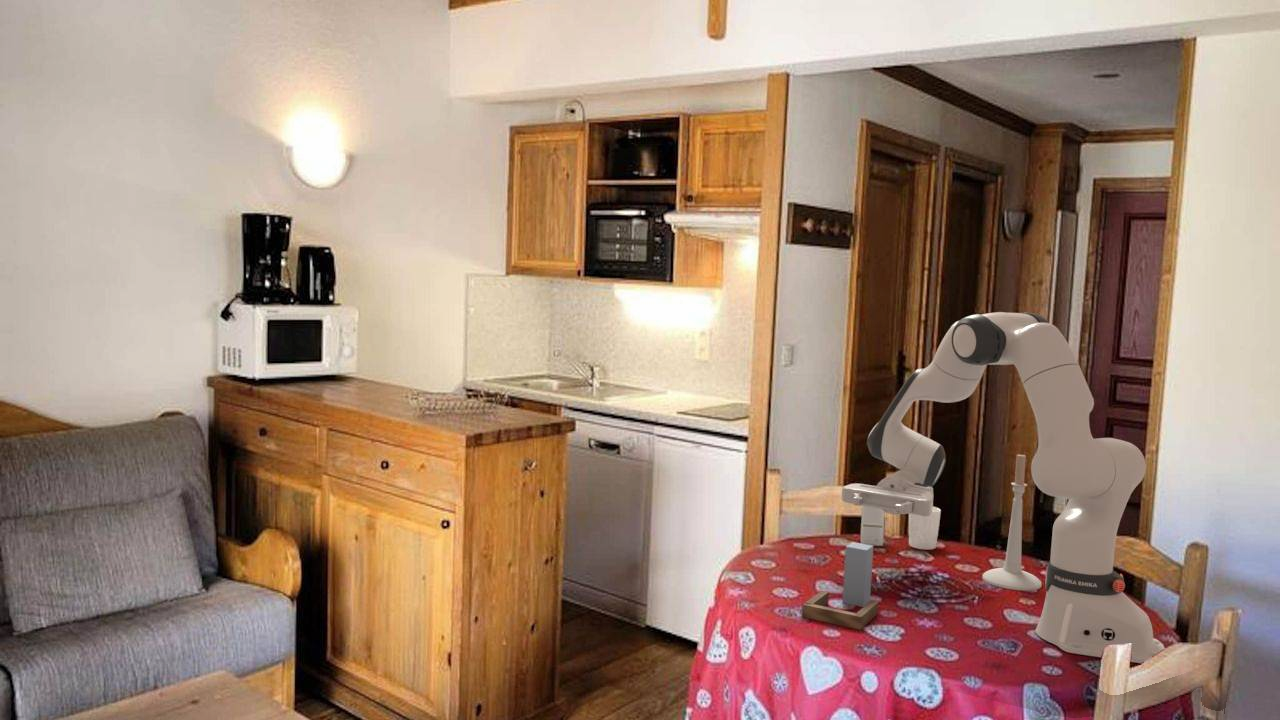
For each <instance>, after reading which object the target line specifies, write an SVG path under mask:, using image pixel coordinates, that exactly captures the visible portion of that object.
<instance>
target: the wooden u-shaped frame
mask: <svg viewBox="0 0 1280 720" xmlns="http://www.w3.org/2000/svg"><path fill="white" fill-rule="evenodd" d="M829 594H830V591H826V590H823V589H822V590H820V591H819V592H818V593H816V594H815V595H813V596H812V597H811V598H809V599H808V600H807V601H805V602H804V603H803V604H802V608H801V609H802V610H801V611H802V612H801V613H802V614H801V618H804V619H805V618H806V619H811V620H815V621H820V622H824V623H827V624H828V623H829V624H833V625H837V626H842V627H847V628H852V629H856V630H859V631H860V630H862V629H864V627H865V626H866V625H867V624H868V623H870V621H872V620H873V619H874V618H875V617H876V616H877V615H878V614H879V612H878V611H879V601H876V600H871V599H870V602H868V603H867V604H866V605H865V606H864V607H862V608H861V609H860V610H858V611H857V612H852V611H847V610H842V609H837V608H833V607H828V606H827V605H828V604H829Z"/></svg>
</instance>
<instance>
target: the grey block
mask: <svg viewBox="0 0 1280 720" xmlns="http://www.w3.org/2000/svg"><path fill="white" fill-rule="evenodd" d="M873 554H874V545H867V544H861V542H860V543H859V542H854V541H852V542H850V543H849V544H847V545H846V546H845V554H844V556H845V557H844V570H843V571H844V572H843V584H842V585H843V588H842V589H843V590H842V604H848V605H852V606H856V607H862V608H863V607H864V606H865V605H866V604H868V603H869V602H870V601H871V591H872V589H871V588H872V575H873V573H872V572H873V560H874V557H873V556H874V555H873Z"/></svg>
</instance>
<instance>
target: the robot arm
mask: <svg viewBox="0 0 1280 720" xmlns="http://www.w3.org/2000/svg"><path fill="white" fill-rule="evenodd" d="M988 365H989V366H990V365H993V366H997V365H1000V366H1007V365H1014V367H1015V368H1016V370H1017V372H1018V375H1019V377H1020V380H1021V383H1022V386H1023V388H1024V391H1025V393H1026V396H1027V399H1028V401H1029V404H1030V407H1031V409H1032V411H1033V414H1034V418H1035V422H1036V426H1037V427H1036V428H1037V436H1038V437H1037V438H1038V444H1037V449H1036V452H1035V454H1034V456H1033V458H1032V460H1031V465H1030V467H1031V468H1030V471H1031V472H1030V473H1031V477H1032V480H1033V483H1034V484H1035V486H1036V487H1037V489H1039V490H1040V491H1041V492H1042V493H1043V494H1046V495H1047V496H1050V497H1054V498H1060V499H1065V500H1068V501H1067V503H1066V506H1065V507H1064V509H1063V510H1062V512H1061V513H1060V514H1059V515H1058V517H1057V518H1056V519H1055V521H1054V523H1053V526H1052V536H1051V547H1050V560H1049V561H1048V563H1047V567H1046V571H1045V582H1044V583H1045V585H1044V586H1045V590H1046V593H1045V599H1044V604H1043V608H1042V611H1041V615H1040V618H1039V621H1038V623H1037V625H1036V628H1035V633H1036V634H1037V636H1038V637H1039V638H1041V639H1043V640H1045V642H1048V643H1051V644H1053V645H1055V646H1057V647H1058V648H1059V649H1061V650H1062V651H1064V652H1066V653H1070V654H1077V655H1082V656H1088V657H1097V658H1102V657H1101V655H1102V651H1103V649H1104V648H1105V647H1106V646H1108V645H1111V644H1122V643H1132V659H1131V662H1130V663H1135V664H1136V663H1137V664H1142V662H1143V661H1145V660H1147V659H1149V658H1151V657H1152V656H1154V655H1155V654H1157V653H1158V652H1160V651H1161V650H1163V649H1165V648H1166V647H1165V646H1164V644H1163V643H1162V642H1161V641H1160V640H1159V639H1157V638H1154V631H1153V626H1152V622H1151V620H1150V617H1149V616H1148V614H1147V613H1146V612H1145V611H1144V610H1143V609H1142V608H1140V606H1138V605H1137V604H1136V603H1135V602H1134V601H1133V600H1131V598H1130V597H1128V596H1127V595H1126V594H1125V593H1124V592H1123V591H1125V588H1126V584H1125V578H1124V575H1123V574H1122V573H1120V574H1119V573H1118V572H1117V571H1115V570H1114V562H1115V561H1114V560H1115V551H1116V541H1117V540H1116V539H1117V534H1118V529H1119V526H1120V522H1121V519H1122V517H1123V514H1124V511H1125V509H1126V507H1127V503H1128V502H1129V500H1130V497H1131V494H1132V493H1133V492H1134V490H1135V489H1136V487H1137V486H1138V485H1139V484H1140V483H1141V482H1142V481H1143V479H1144V477H1145V475H1146V471H1147V465H1146V459H1145V456H1144V454H1143V453H1142V451H1141V450H1140V449H1139V448H1138V447H1137V446H1136V445H1135V444H1134V443H1131V442H1129V441H1126V440H1122V439H1118V438H1115V437H1100V438H1099V437H1098V438H1094V437H1093V435H1092V433H1091V428H1090V426H1091V425H1090V413H1091V412H1092V411H1093V409H1094V406H1095V399H1094V397H1093V395H1092V392H1091V390H1090V387H1089V385H1088V383H1087V381H1086V378H1085V376H1084V373H1083V371H1082V368H1081V366H1080V364H1079V362H1078V360H1077V357H1076V356H1075V354H1074V351H1073V350H1072V348H1071V346H1070V345H1069V343H1068V341H1067V340H1066V338H1065V337H1064V335H1063V333H1062V332H1061V331H1060V329H1059V328H1058V327H1057V326H1055V325H1054V324H1051V323H1049V321H1048V320H1047V319H1046V318H1045V317H1044V316H1041V315H1039V314H1037V313H1032V312H1027V311H1026V312H1025V311H1024V312H1003V311H997V312H989V313H983V314H979V313H978V314H977V313H976V314H972V315H968V316H965V317H963V318H961V319H960V320H957V321H955V322H954V323H953V324H952V325H951V326H950V328H949V329H948V330H947V332H946V333H945V335H944V337H943V338H942V339H941V342H940V344H939V346H938V348H937V350H936V351H935V354H934V356H933V359H932V361H931V363H930V364H929V365H928V366H926V367H925V368H917V369H916V370H914V371H913V372H912V373H911V375H909V376H908V378H907V379H906V380H905V381H904V383H903V385H902V386H901V388H900V389H899V390H898V392H897V393H896V395H895V396H894V398H893V400H892V402H891V403H890V404H889V406H888V407H887V409H886V411H885V412H884V413H883V416H881V418H880V420H878V422H877V423H876V424H875V425H874V426H873V428H872V429H871V430H870V432H869V434H868V437H867V441H866V445H867V447H868V451H869V453H870V454H871V456H872V457H874V458H876V459H878V460H880V461H883V462H886V463H887V464H889V465H891V466H893V467H895V468H897V469H899V470H898V471H895V472H894V473H892V474H890V475H888V476H886V477H884V478H883V479H881V480H880V481H879V482H877V484H876V485H871V484H864V483H849V484H847V485H844V486H843V487H842V488H841V501H842V502H843V503H844V504H845V503H846V504H853V505H854V506H857V507H862V505H863V506H868V507H874V508H880V509H882V510H883V511H884V512H885V513H886V514H888V515H895V516H896V515H909V514H915V515H921V516H930V515H931V514H932V508H933V507H934V488H933V486H935V484H937V482H938V480H939V479H940V478H941V475H942V474H943V471H944V469H945V466H946V463H947V458H946V452H945V449H944V446H943V445H942V444H940V443H938V442H937V441H934V440H933V439H931V438H929V437H927V436H925V435H923V434H921V433H919V432H917V431H915V430H913V429H912V428H909V427H907V426H906V425H904V424H903V422H902V420H903V418H904V416H905V415H906V413H907V412H908V410H909V409H910V408H911V406H912V405H913V403H914V402H915V401H916V402H917V401H931V402H937V403H938V402H939V403H956V402H961V401H964V400H966V399H967V398H969V397H970V396H971V395H973V393H974V392H975V391H976V389H977V387H978V385H979V384H980V382H981V379H982V378H983V375H984V372H985V370H986V368H987V366H988ZM1165 650H1166V649H1165Z"/></svg>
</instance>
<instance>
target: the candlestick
mask: <svg viewBox="0 0 1280 720" xmlns="http://www.w3.org/2000/svg"><path fill="white" fill-rule="evenodd" d="M1026 458H1027V456H1026V455H1025V454H1023V453H1021V454H1016V461H1015V472H1014V474H1015V475H1014V482H1010V484H1011V485H1012V492H1013V494H1014V497H1013V499H1012V506H1011V507H1012V509H1011V515H1010V524H1009V532H1008V536H1007V537H1008V539H1007V547H1006V554H1005V560H1004V564H1003V567H998V568H997V567H996V568H993V569H992V568H991V569H989V570H986V571H985V572H983V573H982V576H981V577H982V580H983V582H986V583H987V584H989V585H991V586H994V587H998V588H1002V589H1006V590H1007V589H1008V590H1014V591H1023V592H1025V591H1036V590H1039V589H1042V583H1043V582H1042V581H1041V580H1040V579H1039V578H1038V577H1037V576H1035V575H1034V574H1032V573H1030V572H1028V571H1024V570H1023V567H1022V543H1023V542H1022V541H1023V540H1022V538H1023V536H1022V534H1023V533H1022V532H1023V502H1024V501H1023V495H1024V493H1025V491H1026V490H1025V488H1027V486H1028V484H1027V483H1025V474H1026V473H1025V472H1026Z"/></svg>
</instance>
